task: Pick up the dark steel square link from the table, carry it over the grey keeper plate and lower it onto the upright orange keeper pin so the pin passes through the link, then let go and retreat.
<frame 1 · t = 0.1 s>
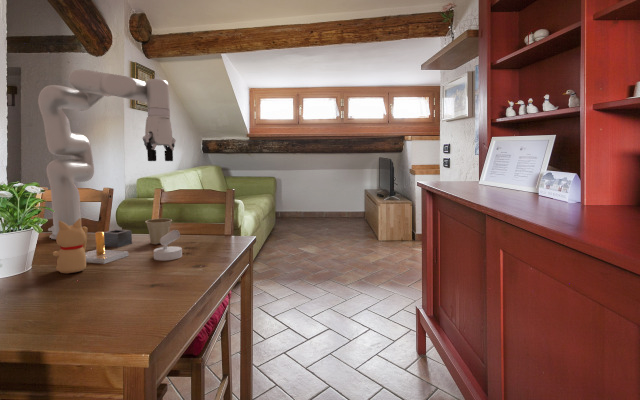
hand: (160, 161, 141), 31 cm above the table, tool pointing down, fingers open, 9 cm apart
figurine: (73, 271, 108), on the table
keeper: (101, 258, 122), on the table
wall hook: (169, 257, 124), on the table
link: (117, 244, 141), on the table
flower pot: (159, 243, 145), on the table
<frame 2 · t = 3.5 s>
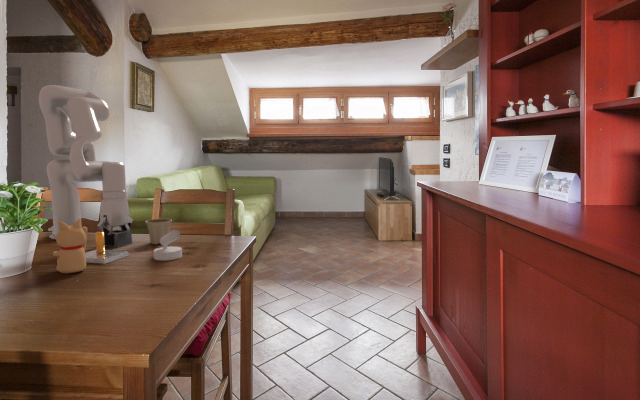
hand: (117, 242, 141), 1 cm above the table, tool pointing down, fingers closed on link, 7 cm apart
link: (117, 244, 141), on the table, touching gripper
everything else where it was.
when the fingers open (5 cm above the table, at t = 9.2 s): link drops 3 cm, resting on keeper.
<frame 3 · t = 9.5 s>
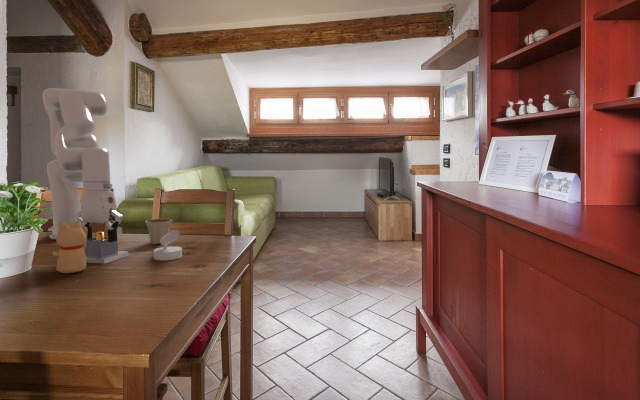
hand: (100, 240, 121), 6 cm above the table, tool pointing down, fingers open, 9 cm apart
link: (100, 253, 122), point 1 cm above the table, touching keeper
everything else where it was.
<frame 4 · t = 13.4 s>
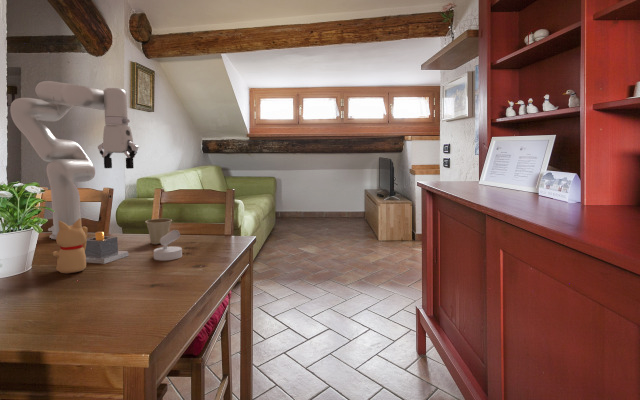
hand: (118, 168, 144), 28 cm above the table, tool pointing down, fingers open, 9 cm apart
nothing on the table moved.
at the end: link 0.1 cm off-centre on the keeper, point 1.5 cm above the keeper's base; the gripper is holding nothing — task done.
